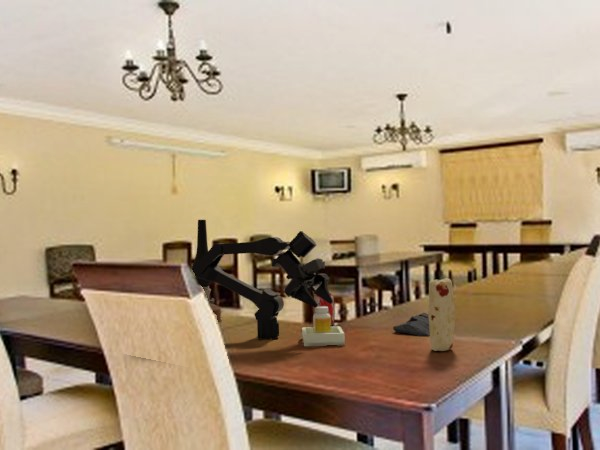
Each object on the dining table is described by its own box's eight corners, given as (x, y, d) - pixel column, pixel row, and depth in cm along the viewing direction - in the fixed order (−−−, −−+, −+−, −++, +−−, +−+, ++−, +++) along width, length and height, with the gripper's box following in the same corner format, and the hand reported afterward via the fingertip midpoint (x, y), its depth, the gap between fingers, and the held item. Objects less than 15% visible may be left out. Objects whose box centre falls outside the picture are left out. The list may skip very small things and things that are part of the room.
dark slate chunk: (384, 334, 179) (384, 319, 179) (412, 324, 197) (412, 311, 197) (429, 338, 170) (429, 323, 170) (453, 328, 188) (453, 314, 188)
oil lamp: (205, 335, 199) (210, 228, 192) (174, 325, 207) (178, 221, 200) (228, 324, 211) (234, 223, 204) (198, 315, 219) (203, 217, 211)
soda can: (332, 327, 191) (331, 293, 191) (312, 327, 193) (312, 293, 193) (335, 324, 198) (334, 291, 198) (316, 323, 199) (315, 290, 200)
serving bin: (304, 346, 160) (303, 334, 160) (302, 338, 172) (302, 327, 172) (344, 345, 160) (344, 333, 160) (340, 337, 172) (339, 326, 172)
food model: (447, 354, 146) (445, 280, 146) (423, 352, 150) (422, 279, 150) (459, 348, 154) (458, 277, 154) (437, 345, 157) (435, 276, 158)
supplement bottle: (310, 338, 167) (309, 306, 168) (325, 336, 170) (324, 305, 170) (318, 340, 163) (317, 308, 163) (334, 339, 165) (333, 307, 165)
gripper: (291, 251, 161) (325, 289, 155) (323, 248, 177) (354, 283, 171) (270, 277, 165) (302, 315, 159) (303, 272, 181) (333, 307, 175)
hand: (324, 304), depth 166 cm, fingers open, 9 cm apart
